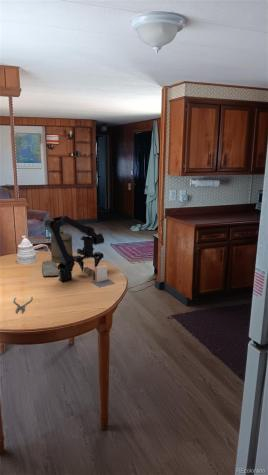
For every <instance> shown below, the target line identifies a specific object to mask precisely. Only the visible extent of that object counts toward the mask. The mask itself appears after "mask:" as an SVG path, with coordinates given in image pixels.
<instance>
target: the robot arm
mask: <svg viewBox="0 0 268 475" xmlns="http://www.w3.org/2000/svg"><path fill="white" fill-rule="evenodd" d="M65 224H67V225H68V226H70V227H72V228H74V229H77V230H78V232H80V233H81V234H82V236H81V238H80V240H81V241H83V247H82V249H81V248H77V249H76V253H77V255H75V256H73V254H72V255H71V254H68V252H67V250H66V247H65V245H64V242H63V240H62V238H61V235H60V230H61V227H63V226H64V225H65ZM44 227H45V229H46V230H47V232H49V234H50V236H51V235H52V237H53V239H54V242H55V244H56V246H57V249H58V251H59V253H60V263H58V265H57V268H58V270H59V276H58V277H59V278H58V281H59V282H61V283H66V282H67V283H68V282H71V281H73V279H72V278H73V269H74V266H75V263H77V264H78V265H79V268H80V270H81V272H83V273H84V268H85V267H84V260H87V259H94V268H95V267H97V266H99V264H100V261H101V260H102V259H104V256H105V254H104V253H102V252H100V251H96V252H94V250H95V248H94V246H98V245H102V244H104V243H105V238H104V236H103V233H101V232H100V233H99V232H98V233H96V232H95V228H94V227H92V226H88V225H86V224H82V223H80V222H78V221H76V220H74V219H73V218H71V217H69V216H67V215H63V214H62V215H60V216H57V217H53V218H47V219H46V220H45V222H44Z"/></svg>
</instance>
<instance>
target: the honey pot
mask: <svg viewBox="0 0 268 475" xmlns="http://www.w3.org/2000/svg"><path fill="white" fill-rule="evenodd" d="M26 237H27V236H26V235H22V236H21V238H22V240H21V242H20V243H19V244H18V245H17V247H18V250H17V254H16V259H17V264H20V265H31V264H34V263H36V262H37V253H36V251H35V249H34V247H33V243H31V241H30V240H29V239H28V238H26Z"/></svg>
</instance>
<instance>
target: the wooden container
mask: <svg viewBox="0 0 268 475" xmlns="http://www.w3.org/2000/svg"><path fill="white" fill-rule="evenodd" d="M60 235H61V238H62V240H63V242H64V245H65V247H66V250H67V252H68V254H71V255H73V240H72V239H73V235H72V234H71V233H67V232H64V230H62V229H60ZM50 248H51V249H50V251H51V253H50V254H51V261H54V262H55V263H56V264H57V263H58V264H60V253H59V251H58V249H57V246H56V244H55V242H54V239H53V237H52V235H51V234H50Z"/></svg>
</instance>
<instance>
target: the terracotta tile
mask: <svg viewBox="0 0 268 475" xmlns="http://www.w3.org/2000/svg"><path fill="white" fill-rule="evenodd" d="M94 271H95V280H94V281H96V282H100V281H105V280H107V279H108V265H106V264H103V265H98V266H97V267H95V266H94Z"/></svg>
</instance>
